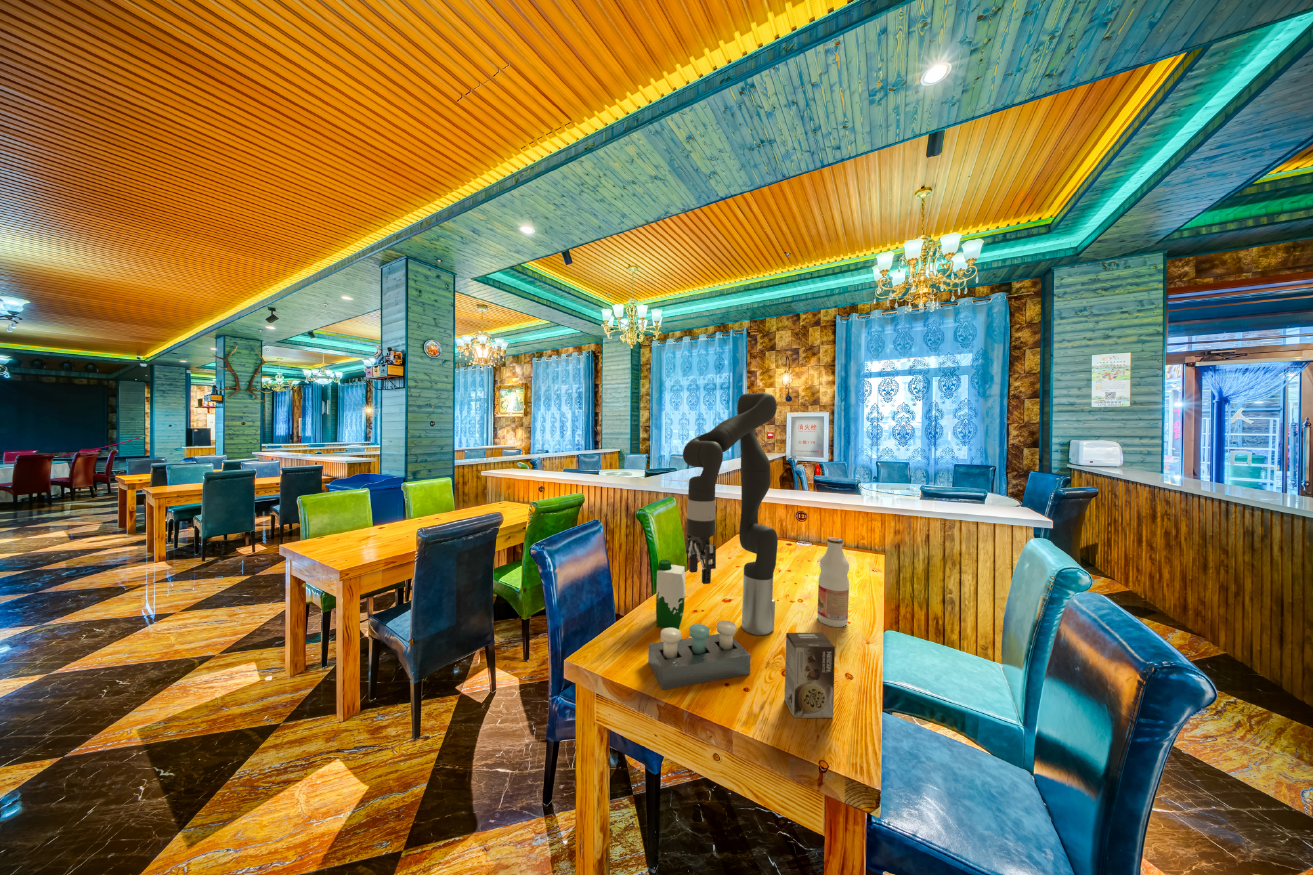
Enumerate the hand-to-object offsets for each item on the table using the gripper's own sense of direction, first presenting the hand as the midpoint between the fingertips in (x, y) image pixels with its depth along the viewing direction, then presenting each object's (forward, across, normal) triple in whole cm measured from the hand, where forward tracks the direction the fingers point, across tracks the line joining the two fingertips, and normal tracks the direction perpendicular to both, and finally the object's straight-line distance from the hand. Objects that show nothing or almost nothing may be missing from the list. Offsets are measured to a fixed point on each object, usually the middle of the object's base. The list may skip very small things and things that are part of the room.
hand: (699, 577), depth 106 cm
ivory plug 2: (+19, 0, -8) cm, 21 cm away
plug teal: (+19, 0, 0) cm, 20 cm away
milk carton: (+24, +24, -1) cm, 34 cm away
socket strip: (+24, 0, 0) cm, 24 cm away
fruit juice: (+25, +13, -55) cm, 62 cm away
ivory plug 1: (+19, -1, +8) cm, 21 cm away
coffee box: (+24, -21, -18) cm, 37 cm away
